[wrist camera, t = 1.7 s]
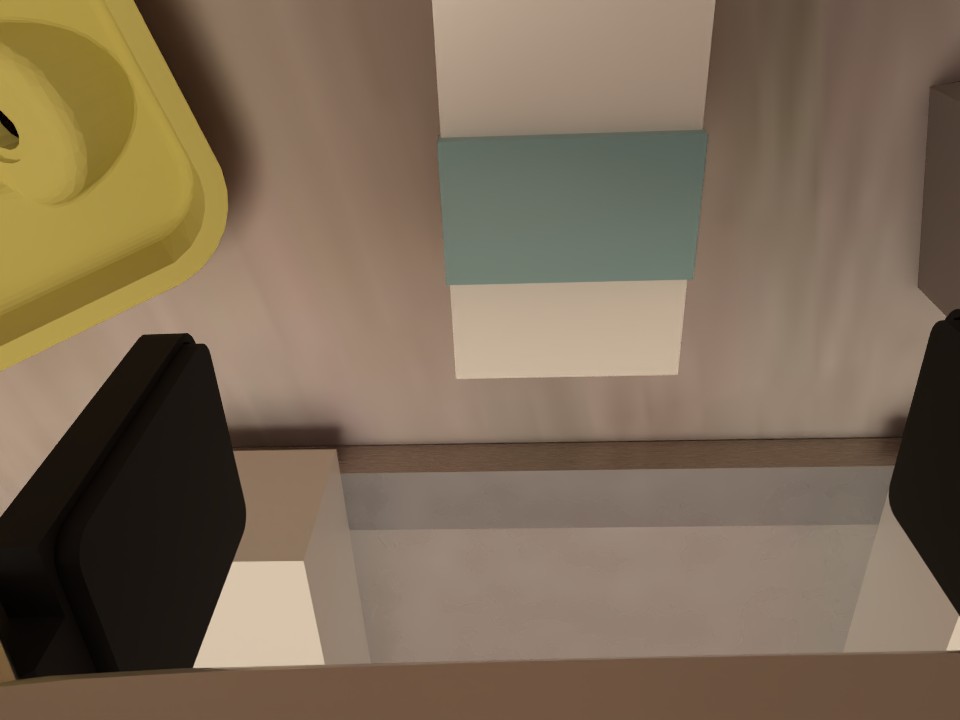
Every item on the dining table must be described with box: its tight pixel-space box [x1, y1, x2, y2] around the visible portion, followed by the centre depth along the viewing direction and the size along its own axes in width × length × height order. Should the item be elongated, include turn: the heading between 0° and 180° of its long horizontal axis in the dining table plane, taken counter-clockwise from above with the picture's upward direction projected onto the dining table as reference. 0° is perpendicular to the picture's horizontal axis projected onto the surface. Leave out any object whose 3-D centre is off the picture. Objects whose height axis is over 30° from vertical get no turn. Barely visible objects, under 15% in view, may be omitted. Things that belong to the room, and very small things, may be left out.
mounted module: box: [193, 449, 371, 668], centre depth 28 cm, size 5×14×5 cm, turn 2°
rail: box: [233, 438, 902, 663], centre depth 30 cm, size 30×12×2 cm, turn 92°
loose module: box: [432, 0, 716, 379], centre depth 19 cm, size 5×8×7 cm, turn 2°
